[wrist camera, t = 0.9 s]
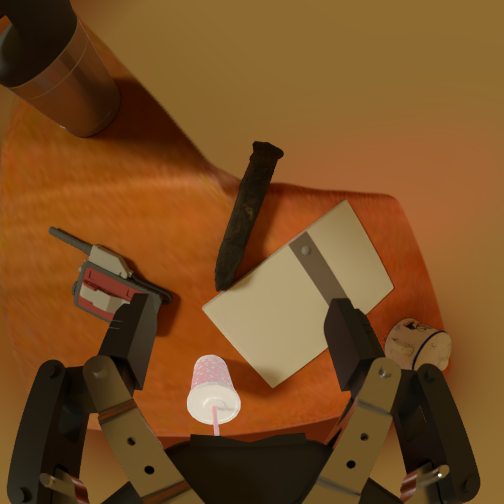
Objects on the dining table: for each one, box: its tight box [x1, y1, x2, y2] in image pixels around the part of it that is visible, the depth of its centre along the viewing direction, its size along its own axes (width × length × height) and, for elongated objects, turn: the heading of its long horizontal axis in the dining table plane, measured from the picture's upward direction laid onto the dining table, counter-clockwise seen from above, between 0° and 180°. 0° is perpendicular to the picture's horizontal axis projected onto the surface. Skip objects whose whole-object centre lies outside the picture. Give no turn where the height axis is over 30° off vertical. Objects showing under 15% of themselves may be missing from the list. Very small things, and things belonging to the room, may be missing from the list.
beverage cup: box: [187, 355, 240, 436], centre depth 29 cm, size 6×6×14 cm
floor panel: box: [202, 200, 394, 388], centre depth 36 cm, size 16×24×2 cm, turn 126°
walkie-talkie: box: [49, 227, 173, 323], centre depth 30 cm, size 9×4×20 cm
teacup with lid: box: [385, 318, 452, 371], centre depth 35 cm, size 12×9×12 cm
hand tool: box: [215, 141, 284, 292], centre depth 32 cm, size 19×4×5 cm, turn 158°
